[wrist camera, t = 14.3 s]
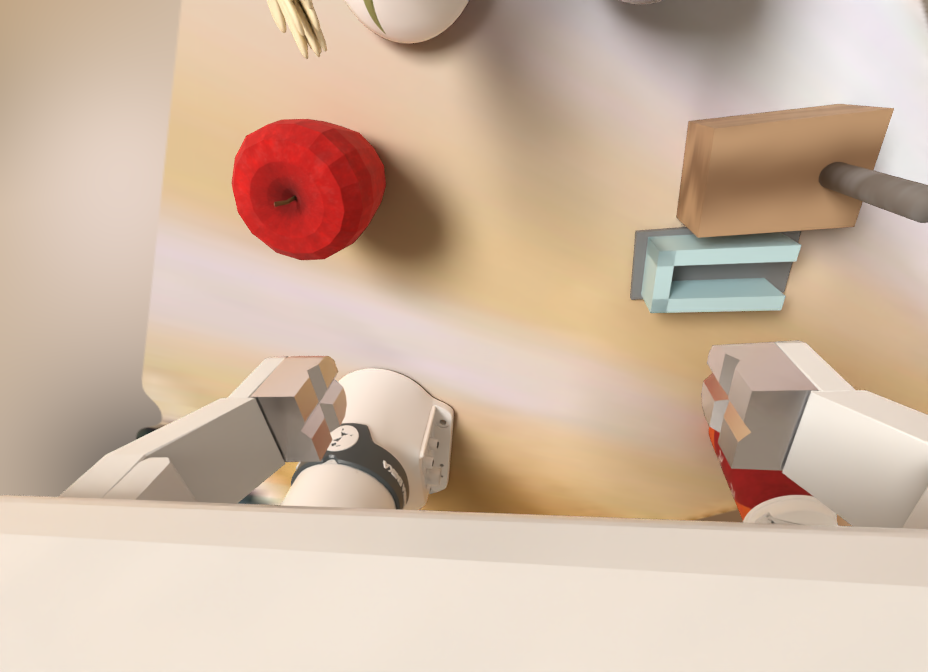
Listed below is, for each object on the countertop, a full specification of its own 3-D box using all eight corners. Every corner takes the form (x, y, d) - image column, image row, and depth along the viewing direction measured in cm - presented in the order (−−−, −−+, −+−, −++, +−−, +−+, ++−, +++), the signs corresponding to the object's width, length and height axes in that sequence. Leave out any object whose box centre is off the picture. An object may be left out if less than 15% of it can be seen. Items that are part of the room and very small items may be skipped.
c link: (641, 294, 43) (650, 313, 40) (648, 236, 40) (659, 251, 37) (760, 291, 42) (781, 310, 38) (777, 230, 39) (801, 245, 35)
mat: (781, 290, 42) (784, 292, 41) (630, 297, 44) (631, 299, 44) (800, 218, 38) (803, 220, 38) (635, 230, 41) (636, 232, 40)
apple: (333, 239, 45) (265, 294, 34) (274, 143, 41) (174, 168, 29) (419, 199, 42) (377, 245, 30) (365, 89, 38) (292, 94, 26)
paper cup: (685, 439, 53) (730, 544, 41) (725, 394, 49) (788, 496, 37) (742, 460, 53) (803, 570, 41) (786, 417, 49) (868, 526, 37)
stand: (810, 206, 38) (953, 272, 25) (676, 217, 40) (745, 282, 27) (839, 103, 34) (1026, 119, 21) (688, 121, 36) (776, 144, 23)
